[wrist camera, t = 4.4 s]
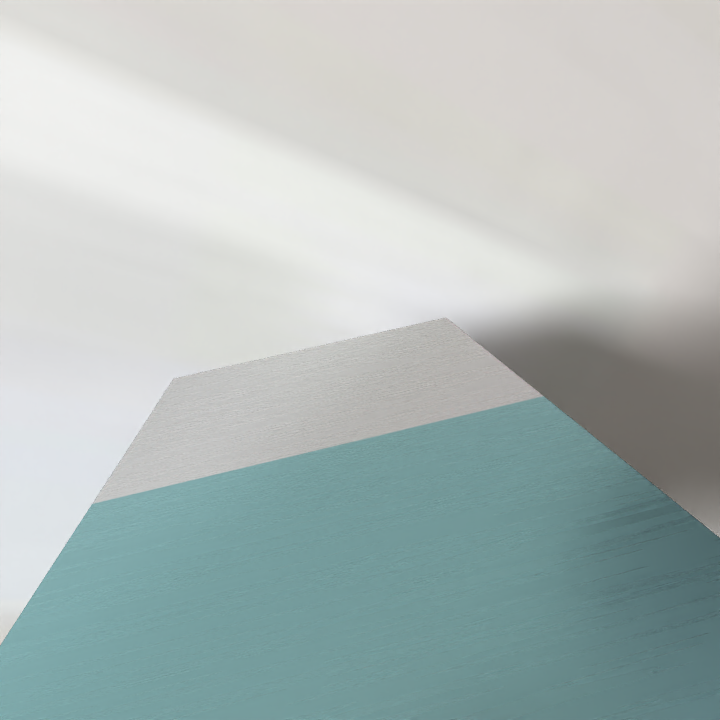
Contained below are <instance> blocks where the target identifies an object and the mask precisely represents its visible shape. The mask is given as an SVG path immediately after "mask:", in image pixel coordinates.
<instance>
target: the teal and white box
mask: <svg viewBox="0 0 720 720" xmlns="http://www.w3.org/2000/svg"><path fill="white" fill-rule="evenodd" d="M0 720H720V538H719V537H718V536H717V535H715V534H714V533H713V532H712V531H710V530H709V529H708V528H707V527H705V526H704V525H703V524H702V523H700V522H699V521H698V520H697V519H696V518H694V517H693V516H692V515H691V514H689V513H688V512H687V511H686V510H684V509H683V508H682V507H681V506H679V505H678V504H677V503H676V502H674V501H673V500H672V499H671V498H669V497H668V496H667V495H666V494H665V493H663V492H662V491H661V490H660V489H658V488H657V487H656V486H655V485H653V484H652V483H651V482H650V481H648V480H647V479H646V478H645V477H643V476H642V475H641V474H640V473H638V472H637V471H636V470H635V469H633V468H632V467H631V466H630V465H629V464H627V463H626V462H625V461H624V460H622V459H621V458H620V457H619V456H617V455H616V454H615V453H614V452H612V451H611V450H610V449H609V448H607V447H606V446H605V445H604V444H602V443H601V442H600V441H599V440H597V439H596V438H595V437H594V436H593V435H591V434H590V433H589V432H588V431H586V430H585V429H584V428H583V427H581V426H580V425H579V424H578V423H576V422H575V421H574V420H573V419H571V418H570V417H569V416H568V415H566V414H565V413H564V412H563V411H561V410H560V409H559V408H558V407H557V406H555V405H554V404H553V403H552V402H550V401H549V400H548V399H547V398H545V397H544V396H543V395H542V394H540V393H539V392H538V391H537V390H535V389H534V388H533V387H532V386H530V385H529V384H528V383H527V382H526V381H524V380H523V379H522V378H521V377H519V376H518V375H517V374H516V373H514V372H513V371H512V370H511V369H509V368H508V367H507V366H506V365H504V364H503V363H502V362H501V361H499V360H498V359H497V358H496V357H494V356H493V355H492V354H491V353H490V352H488V351H487V350H486V349H485V348H483V347H482V346H481V345H480V344H478V343H477V342H476V341H475V340H473V339H472V338H471V337H470V336H468V335H467V334H466V333H465V332H463V331H462V330H461V329H460V328H458V327H457V326H456V325H455V324H454V323H452V322H451V321H450V320H449V319H447V318H442V319H438V320H433V321H429V322H424V323H420V324H415V325H411V326H406V327H402V328H397V329H393V330H389V331H384V332H380V333H375V334H371V335H366V336H362V337H357V338H353V339H348V340H344V341H339V342H335V343H331V344H326V345H322V346H317V347H313V348H308V349H304V350H299V351H295V352H290V353H286V354H282V355H277V356H273V357H268V358H264V359H259V360H255V361H250V362H246V363H241V364H237V365H232V366H228V367H224V368H219V369H215V370H210V371H206V372H201V373H197V374H192V375H188V376H183V377H179V378H175V379H173V380H172V382H171V383H170V385H169V387H168V388H167V390H166V391H165V393H164V394H163V396H162V397H161V399H160V400H159V402H158V403H157V405H156V407H155V408H154V410H153V411H152V413H151V414H150V416H149V417H148V419H147V420H146V422H145V424H144V425H143V427H142V428H141V430H140V431H139V433H138V434H137V436H136V437H135V439H134V440H133V442H132V444H131V445H130V447H129V448H128V450H127V451H126V453H125V454H124V456H123V457H122V459H121V460H120V462H119V464H118V465H117V467H116V468H115V470H114V471H113V473H112V474H111V476H110V477H109V479H108V481H107V482H106V484H105V485H104V487H103V488H102V490H101V491H100V493H99V494H98V496H97V497H96V499H95V501H94V502H93V504H92V505H91V507H90V508H89V510H88V511H87V513H86V514H85V516H84V518H83V519H82V521H81V522H80V524H79V525H78V527H77V528H76V530H75V531H74V533H73V534H72V536H71V538H70V539H69V541H68V542H67V544H66V545H65V547H64V548H63V550H62V551H61V553H60V554H59V556H58V558H57V559H56V561H55V562H54V564H53V565H52V567H51V568H50V570H49V571H48V573H47V575H46V576H45V578H44V579H43V581H42V582H41V584H40V585H39V587H38V588H37V590H36V591H35V593H34V595H33V596H32V598H31V599H30V601H29V602H28V604H27V605H26V607H25V608H24V610H23V611H22V613H21V615H20V616H19V618H18V619H17V621H16V622H15V624H14V625H13V627H12V628H11V630H10V632H9V633H8V635H7V636H6V638H5V639H4V641H3V642H2V644H1V645H0Z"/></svg>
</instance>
